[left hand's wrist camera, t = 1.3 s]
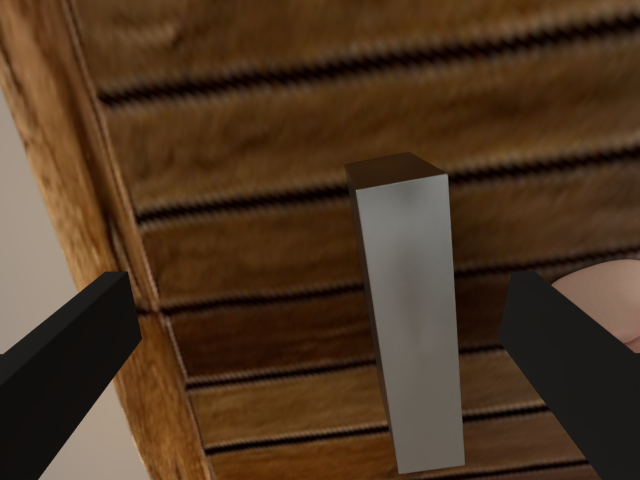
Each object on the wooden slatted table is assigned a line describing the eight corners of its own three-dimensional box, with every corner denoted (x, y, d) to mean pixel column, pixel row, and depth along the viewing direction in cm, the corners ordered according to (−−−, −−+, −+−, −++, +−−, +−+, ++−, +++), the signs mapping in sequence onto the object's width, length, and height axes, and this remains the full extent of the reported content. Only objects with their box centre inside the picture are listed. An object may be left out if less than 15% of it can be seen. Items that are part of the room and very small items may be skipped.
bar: (344, 164, 27) (355, 190, 19) (409, 151, 27) (448, 173, 19) (380, 390, 35) (398, 474, 27) (431, 383, 35) (465, 465, 27)
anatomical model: (543, 330, 28) (697, 243, 25) (516, 302, 31) (648, 225, 29) (610, 432, 31) (748, 366, 29) (578, 397, 35) (699, 336, 33)
